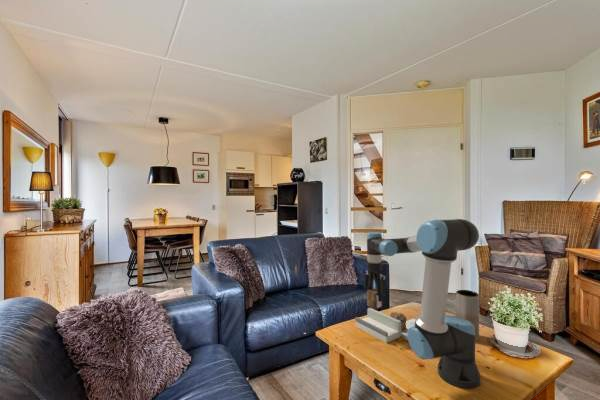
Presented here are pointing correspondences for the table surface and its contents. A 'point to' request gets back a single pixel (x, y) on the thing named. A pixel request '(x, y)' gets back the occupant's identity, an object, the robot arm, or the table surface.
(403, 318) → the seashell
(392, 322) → the board
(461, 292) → the planter
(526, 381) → the table surface
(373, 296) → the brown block
